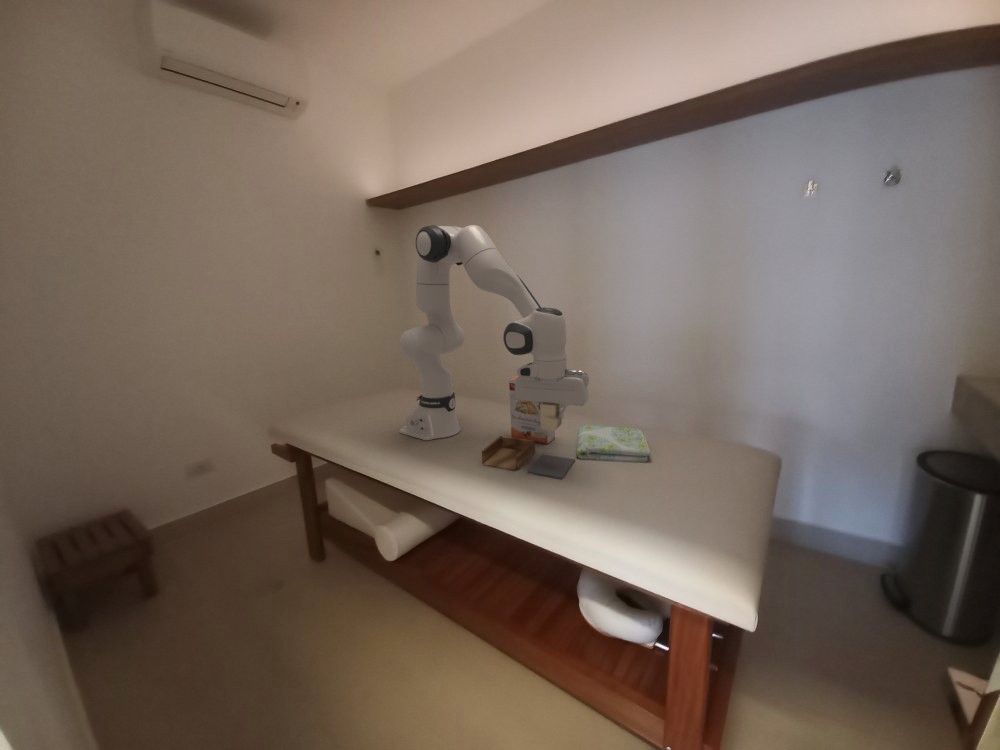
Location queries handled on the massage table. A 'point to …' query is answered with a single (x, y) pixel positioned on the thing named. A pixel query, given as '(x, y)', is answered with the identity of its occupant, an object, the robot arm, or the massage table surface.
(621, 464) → the massage table surface
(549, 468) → the mat
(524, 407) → the cracker box
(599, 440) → the towel
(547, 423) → the block
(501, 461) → the shelf bay
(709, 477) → the massage table surface
